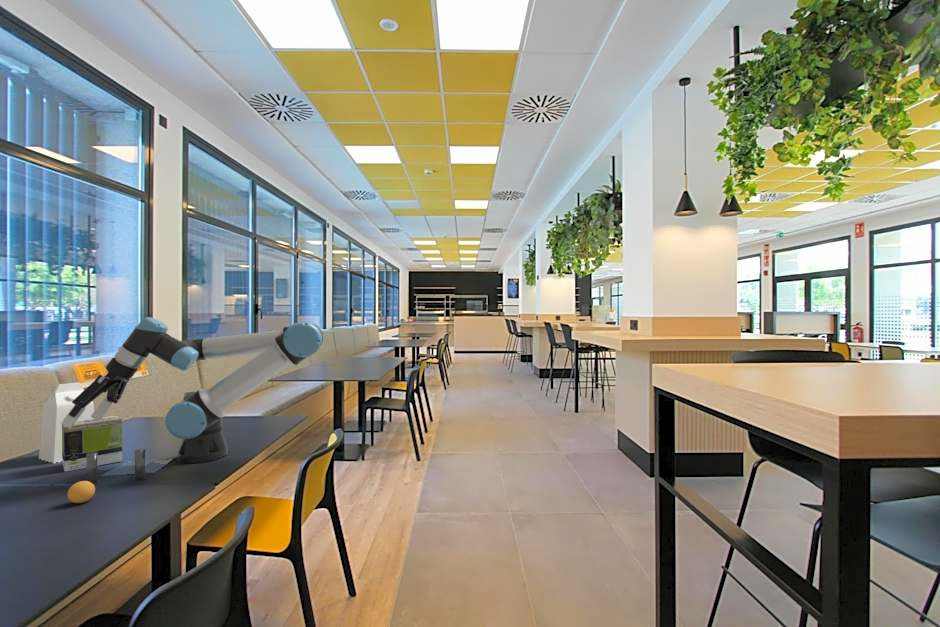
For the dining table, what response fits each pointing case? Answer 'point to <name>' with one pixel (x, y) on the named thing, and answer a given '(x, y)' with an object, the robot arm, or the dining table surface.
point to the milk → (59, 419)
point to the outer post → (92, 467)
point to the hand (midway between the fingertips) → (81, 422)
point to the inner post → (139, 464)
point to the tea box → (92, 442)
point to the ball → (81, 492)
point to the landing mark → (133, 469)
